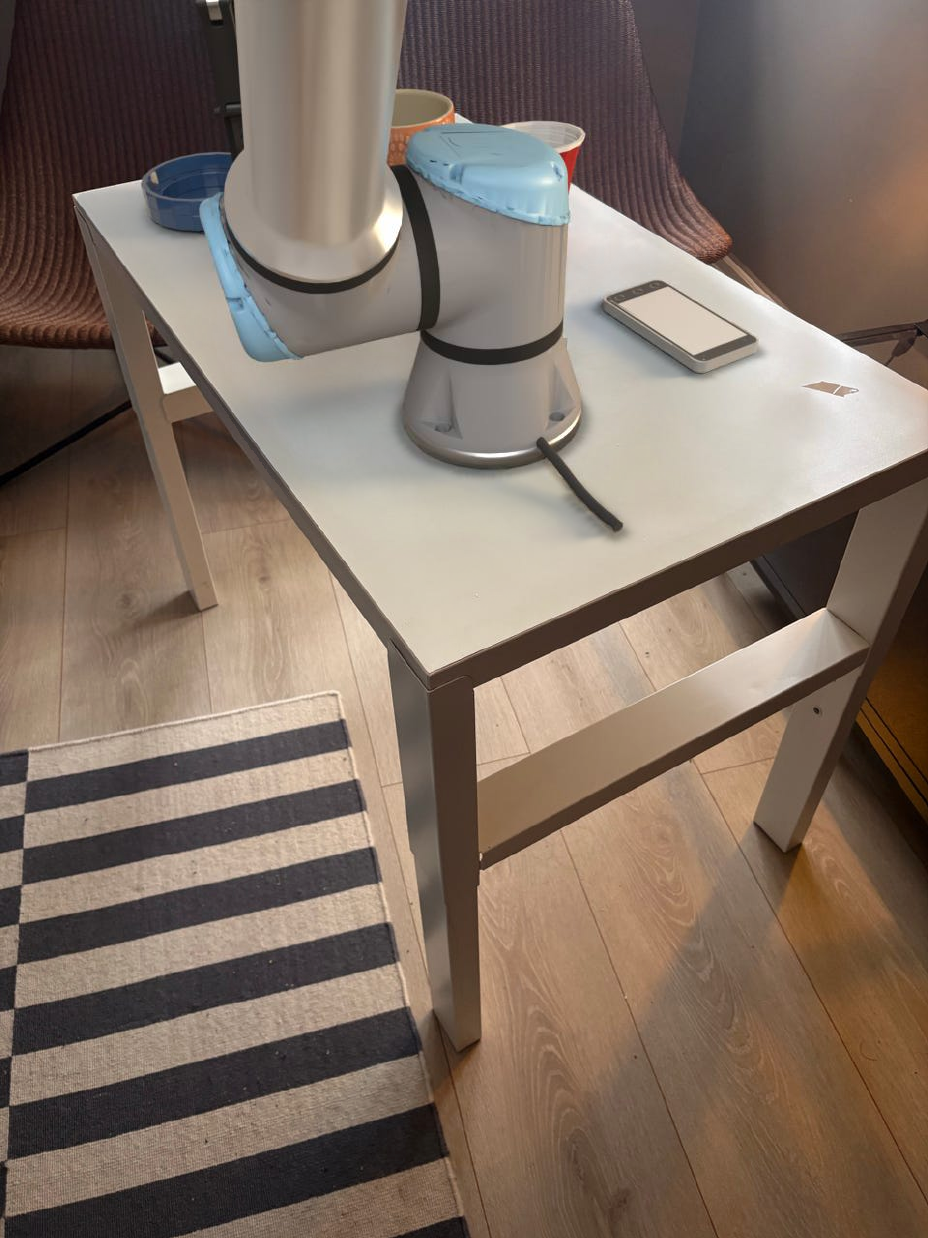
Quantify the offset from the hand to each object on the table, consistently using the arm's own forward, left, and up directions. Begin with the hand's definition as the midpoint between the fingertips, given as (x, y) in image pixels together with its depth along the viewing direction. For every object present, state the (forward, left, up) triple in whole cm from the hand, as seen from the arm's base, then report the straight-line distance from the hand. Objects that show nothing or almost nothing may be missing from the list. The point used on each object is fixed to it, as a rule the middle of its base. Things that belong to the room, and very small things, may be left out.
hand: (253, 185), depth 93 cm
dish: (+27, +8, -13) cm, 31 cm away
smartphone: (-10, -39, -13) cm, 42 cm away
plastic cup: (+10, -28, -13) cm, 32 cm away
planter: (+24, -15, -13) cm, 31 cm away
